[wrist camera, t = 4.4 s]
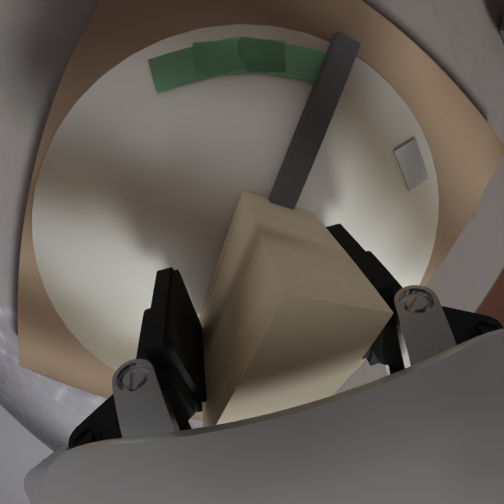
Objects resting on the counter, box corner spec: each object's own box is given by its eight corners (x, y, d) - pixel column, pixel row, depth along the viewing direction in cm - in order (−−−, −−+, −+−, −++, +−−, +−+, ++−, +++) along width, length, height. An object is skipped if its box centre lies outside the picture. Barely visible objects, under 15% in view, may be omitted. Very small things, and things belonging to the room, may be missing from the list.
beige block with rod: (257, 330, 14) (287, 446, 9) (197, 320, 13) (205, 444, 8) (376, 57, 9) (506, 57, 4) (307, 21, 8) (414, -28, 3)
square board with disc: (288, 415, 22) (293, 433, 20) (27, 348, 15) (18, 367, 14) (487, 141, 13) (508, 149, 12) (165, -71, 7) (162, -90, 5)
